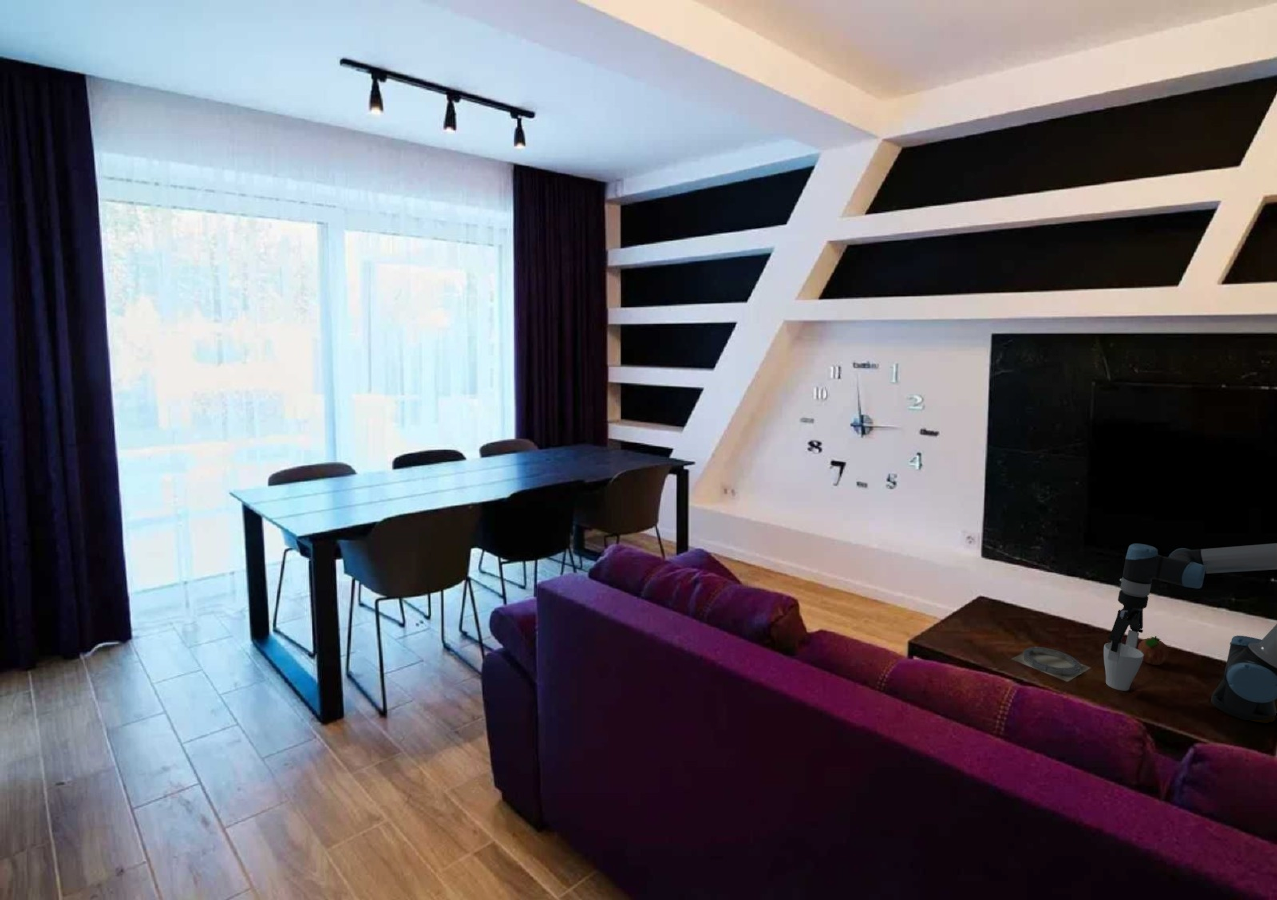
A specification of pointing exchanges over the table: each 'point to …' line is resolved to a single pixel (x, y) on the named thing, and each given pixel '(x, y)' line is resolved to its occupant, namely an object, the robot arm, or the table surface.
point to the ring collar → (1050, 669)
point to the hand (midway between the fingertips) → (1121, 655)
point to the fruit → (1153, 651)
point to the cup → (1122, 667)
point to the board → (1052, 664)
